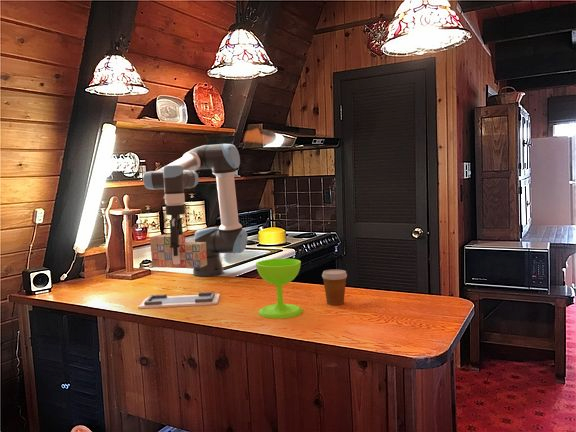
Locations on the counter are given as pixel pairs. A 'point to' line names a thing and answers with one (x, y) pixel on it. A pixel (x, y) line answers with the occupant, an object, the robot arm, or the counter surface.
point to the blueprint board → (180, 300)
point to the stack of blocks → (189, 252)
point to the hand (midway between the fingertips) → (178, 262)
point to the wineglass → (279, 285)
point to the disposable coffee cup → (334, 286)
